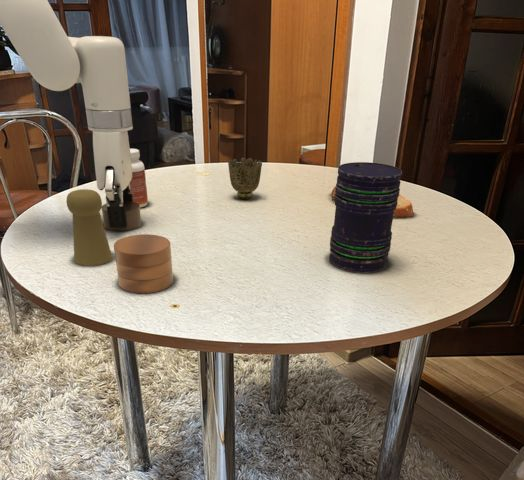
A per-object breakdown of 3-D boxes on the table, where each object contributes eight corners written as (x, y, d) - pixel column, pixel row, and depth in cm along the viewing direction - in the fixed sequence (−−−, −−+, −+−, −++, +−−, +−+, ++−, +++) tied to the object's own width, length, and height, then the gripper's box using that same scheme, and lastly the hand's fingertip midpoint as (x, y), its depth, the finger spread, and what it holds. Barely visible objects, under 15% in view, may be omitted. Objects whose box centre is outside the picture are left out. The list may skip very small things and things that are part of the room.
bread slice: (414, 219, 105) (418, 201, 103) (327, 213, 108) (329, 195, 106) (408, 196, 120) (411, 180, 118) (332, 190, 123) (333, 174, 121)
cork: (113, 251, 87) (104, 185, 81) (111, 265, 82) (101, 196, 76) (76, 252, 86) (64, 186, 80) (71, 266, 81) (58, 196, 75)
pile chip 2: (112, 280, 72) (110, 267, 71) (122, 258, 79) (120, 246, 78) (169, 280, 73) (168, 267, 72) (174, 259, 79) (173, 246, 78)
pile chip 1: (110, 267, 71) (108, 253, 70) (120, 246, 78) (119, 233, 77) (168, 267, 72) (167, 254, 71) (173, 246, 78) (172, 234, 77)
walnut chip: (100, 230, 95) (97, 211, 93) (108, 219, 101) (105, 200, 99) (138, 231, 96) (136, 212, 94) (143, 219, 101) (142, 201, 100)
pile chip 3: (114, 293, 73) (112, 280, 72) (124, 270, 80) (122, 258, 79) (170, 293, 74) (169, 280, 73) (175, 271, 80) (174, 259, 79)
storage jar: (400, 266, 84) (417, 172, 76) (354, 277, 80) (367, 180, 72) (360, 246, 91) (371, 159, 83) (316, 256, 87) (324, 165, 79)
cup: (235, 204, 112) (235, 166, 107) (223, 195, 117) (223, 158, 113) (266, 200, 114) (267, 163, 110) (253, 192, 120) (254, 156, 116)
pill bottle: (154, 205, 109) (149, 151, 103) (129, 211, 106) (122, 154, 100) (138, 199, 113) (132, 146, 107) (113, 204, 109) (106, 149, 103)
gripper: (98, 112, 95) (111, 206, 105) (74, 127, 81) (92, 236, 90) (139, 113, 96) (148, 207, 105) (122, 128, 81) (135, 236, 91)
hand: (122, 219), depth 98 cm, fingers closed on walnut chip, 7 cm apart
